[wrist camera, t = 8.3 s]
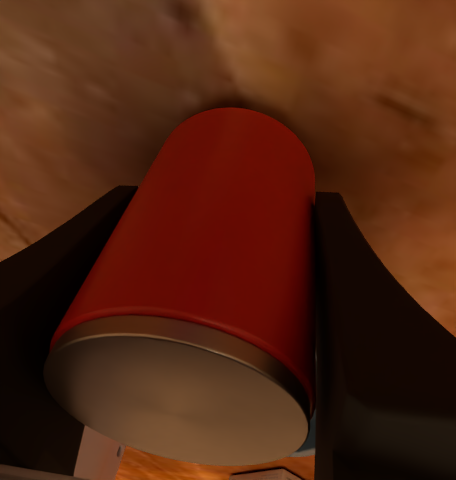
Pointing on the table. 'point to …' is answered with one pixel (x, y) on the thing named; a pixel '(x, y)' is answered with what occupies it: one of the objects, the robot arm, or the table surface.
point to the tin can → (202, 302)
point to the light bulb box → (266, 475)
